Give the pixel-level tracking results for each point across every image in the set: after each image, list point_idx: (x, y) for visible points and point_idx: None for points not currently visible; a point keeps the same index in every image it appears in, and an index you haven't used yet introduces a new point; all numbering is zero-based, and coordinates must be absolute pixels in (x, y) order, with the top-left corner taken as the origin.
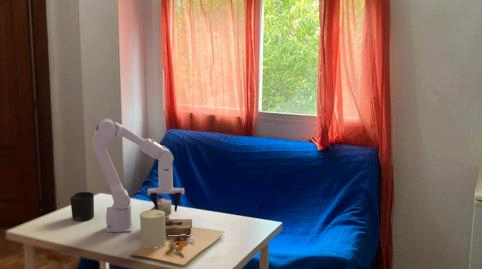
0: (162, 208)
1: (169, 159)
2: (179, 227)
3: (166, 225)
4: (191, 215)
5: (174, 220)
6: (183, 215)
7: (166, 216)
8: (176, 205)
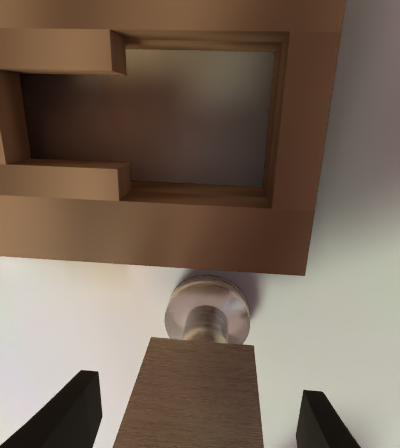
0: (243, 408)
1: None
2: None
3: (195, 194)
4: None
5: (103, 226)
6: (104, 442)
7: (202, 340)
8: (24, 433)
